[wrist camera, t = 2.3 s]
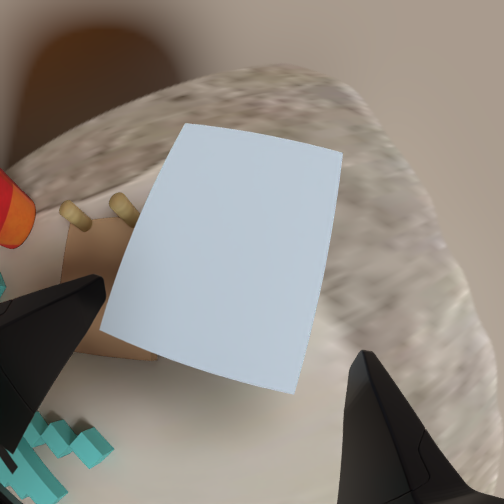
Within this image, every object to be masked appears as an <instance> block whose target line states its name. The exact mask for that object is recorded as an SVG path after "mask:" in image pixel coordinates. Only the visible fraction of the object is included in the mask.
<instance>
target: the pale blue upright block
mask: <svg viewBox="0 0 504 504" xmlns="http://www.w3.org/2000/svg"><path fill="white" fill-rule="evenodd" d="M342 156H343V153H341V152H338V151H334V150H330V149H326V148H322V147H318V146H314V145H310V144H306V143H302V142H297V141H293V140H288V139H283V138H279V137H274V136H269V135H263V134H258V133H252V132H246V131H240V130H234V129H227V128H220V127H213V126H205V125H197V124H187V123H185V125H184V127H183V128H182V130H181V132H180V134H179V136H178V138H177V139H176V141H175V143H174V145H173V147H172V149H171V151H170V153H169V155H168V157H167V159H166V160H165V162H164V164H163V166H162V168H161V170H160V173H159V175H158V177H157V179H156V181H155V183H154V185H153V187H152V189H151V191H150V194H149V196H148V198H147V200H146V202H145V205H144V207H143V209H142V212H141V214H140V216H139V219H138V221H137V223H136V226H135V228H134V231H133V233H132V236H131V238H130V241H129V243H128V246H127V248H126V251H125V253H124V256H123V259H122V262H121V264H120V267H119V270H118V273H117V275H116V278H115V281H114V284H113V287H112V290H111V293H110V296H109V299H108V303H107V306H106V309H105V312H104V316H103V319H102V322H101V326H100V329H99V330H101V331H103V332H105V333H107V334H110V335H112V336H114V337H116V338H118V339H121V340H123V341H125V342H128V343H130V344H132V345H135V346H137V347H140V348H142V349H145V350H147V351H150V352H152V353H155V354H157V355H160V356H163V357H165V358H168V359H171V360H173V361H176V362H179V363H182V364H185V365H188V366H191V367H194V368H197V369H200V370H203V371H206V372H209V373H212V374H216V375H219V376H222V377H226V378H229V379H233V380H236V381H240V382H243V383H247V384H251V385H255V386H259V387H263V388H267V389H271V390H276V391H280V392H285V393H289V394H294V392H295V389H296V386H297V382H298V378H299V375H300V371H301V368H302V364H303V360H304V356H305V353H306V349H307V345H308V341H309V337H310V333H311V329H312V325H313V320H314V316H315V312H316V307H317V303H318V299H319V294H320V289H321V285H322V280H323V275H324V270H325V265H326V260H327V254H328V249H329V244H330V238H331V232H332V226H333V220H334V214H335V208H336V201H337V194H338V187H339V180H340V172H341V164H342Z"/></svg>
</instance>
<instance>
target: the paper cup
mask: <svg viewBox="0 0 504 504" xmlns="http://www.w3.org/2000/svg"><path fill="white" fill-rule="evenodd" d="M35 215H36V209H35V204H34V202H33V201H32V200H31V199H30V198H29V197H28V196H27V195H26V194H25V193H24V192H23V191H22V190H21V189H20V188H19V187H18V186H17V185H16V184H15V183H14V182H13V181H12V180H11V179H10V177H9V176H8V175H7V174H6V173H5V172H4V171H3V170H2V169H1V168H0V245H1V246H4V247H6V248H9V249H15V248H17V247H19V246H20V245H21V244H22V243H23V242H24V241H25V240H26V238H27V237H28V235H29V233H30V231H31V229H32V227H33V224H34V220H35Z"/></svg>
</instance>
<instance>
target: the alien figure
mask: <svg viewBox="0 0 504 504" xmlns="http://www.w3.org/2000/svg"><path fill="white" fill-rule="evenodd" d="M5 289H6V285H5V283H4V280H3V278H2V275H1V273H0V297H1V295H2V294H3V292H4V290H5ZM24 437H25V438H24ZM26 440H27V441H26ZM45 443H46V444H47V446H48V447H49V448H50V449H51V451H52V452H53V453H54V454H55V456H56V457H57V458H60V457H63V456H65V455H67V454H70V453H71V452H72V451H73V452H74V453H75V454H76V455H77V456H78V457H79V459H80V460H81V461H82V462H83V463H84V464H85V465H86V466H87V467H88V468H89V469H90V468H92V467H94V466H95V465H97V464H99V463H100V462H101V461H102V460H104V459H105V458H106V457H107V456H108V455H109V454H110V453H111V452H112V451H113V450H114V448H113V447H112V446H111V445H110V444H109V443H108V442H107V441H106V440H105V439H104V437H103V436H102V435H101V434H100V433H99V432H98V431H97V430H96V429H95V427H93V428H91V429H88V430H85V431H83V432H81V433H80V434H79V435H78V437H77V435H76V434H75V433H74V432H73V431H72V429H71V428H70V427H69V426H68V424H67V423H66V422H65V420H60V421H56V422H52V423H50V424H49V426H48V425H47V423H46V422H45V420H44V419H43V418H42V416H41V415H40V413H39V412H36V413H35V414H34V417H33V418H32V420H31V422H30V424H29V426H28V427H27V429H26V431H25V433H24V435H23V437H22V439H21V441H20V443H19V444H18V446H17V448H16V450H15V452H14V454H11V453H10V452H9V451H8V450H6V449H5V448H4V447H3V446H2V445H1V444H0V483H1V484H2V485H3V486H4V487H8V486H11V487H12V488H13V489H14V491H15V492H16V493H17V495H18V496H19V497H20V498H21V499H24V498H26V497H29V496H30V498H31V499H32V500H33V501H34V502H35V503H36V504H56V503H57V502H58V501H59V500H60V499H61V498H62V497H64V496H65V495H66V494H67V493H68V491H67V490H66V489H65V488H64V487H63V486H62V485H61V483H60V482H59V481H58V480H57V479H56V478H55V477H54V475H53V474H52V473H51V472H50V471H49V469H48V468H47V467H46V466H45V465H44V463H43V462H42V461H41V459H40V458H39V457H38V456H37V454H36V453H35V452H34V450H33V449H32V448H33V447H36V446H39V445H43V444H45ZM31 447H32V448H31Z"/></svg>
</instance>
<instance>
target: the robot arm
mask: <svg viewBox="0 0 504 504" xmlns="http://www.w3.org/2000/svg"><path fill="white" fill-rule="evenodd" d="M105 300H106V289H105V283H104V279H103V277H102V276H99V275H97V274H90V275H87V276H84V277H80V278H77V279H74V280H71V281H68V282H64V283H61V284H58V285H55V286H52V287H49V288H45V289H42V290H39V291H36V292H33V293H30V294H27V295H24V296H21V297H18V298H15V299H13V300H9V301H6V302H3V303H0V444H1V445H2V446H3V447H4V448H5V449H6V450H8V451H9V452H10V453H11V454H14V452H15V450H16V448H17V446H18V444H19V443H20V441H21V439H22V437H23V435H24V433H25V431H26V429H27V427H28V426H29V424H30V422H31V420H32V418H33V417H34V414H35V413H36V411H37V409H38V408H39V406H40V404H41V403H42V401H43V399H44V397H45V396H46V394H47V392H48V391H49V389H50V388H51V386H52V384H53V383H54V381H55V380H56V378H57V376H58V375H59V373H60V372H61V370H62V369H63V367H64V366H65V364H66V363H67V361H68V360H69V358H70V357H71V355H72V354H73V352H74V351H75V349H76V348H77V346H78V345H79V343H80V342H81V340H82V339H83V338H84V336H85V335H86V333H87V331H88V330H89V328H90V326H91V325H92V323H93V321H94V319H95V318H96V316H97V314H98V312H99V311H100V309H101V307H102V306H103V304H104V302H105ZM0 504H23V503H22V502H20V501H19V500H18V499H17V498H16V497H15V496H14V495H13V494H12V493H11V492H9V491H8V490H7V489H6V488H5V487H4V486H3V485H2V484H1V483H0ZM337 504H504V499H503V498H499V497H495V496H491V495H487V494H484V493H480V492H477V491H475V490H473V489H472V488H470V487H469V486H468V485H467V484H466V483H465V482H464V480H463V479H462V478H461V477H460V475H459V474H458V473H457V471H456V470H455V469H454V468H453V466H452V465H451V464H450V462H449V461H448V460H447V459H446V457H445V456H444V455H443V453H442V452H441V451H440V449H439V448H438V446H437V445H436V443H435V442H434V440H433V439H432V437H431V436H430V434H429V433H428V431H427V430H426V429H425V427H424V425H423V424H422V422H421V421H420V419H419V418H418V416H417V415H416V413H415V412H414V410H413V409H412V407H411V406H410V404H409V403H408V401H407V400H406V398H405V397H404V395H403V394H402V392H401V391H400V389H399V388H398V387H397V385H396V384H395V382H394V381H393V379H392V378H391V376H390V375H389V374H388V372H387V371H386V369H385V368H384V366H383V365H382V364H381V362H380V361H379V359H378V358H377V357H376V355H375V354H374V353H373V352H372V351H367V350H361V351H360V352H359V353H358V355H357V357H356V358H355V360H354V362H353V363H352V365H351V367H350V370H349V376H348V385H347V392H346V400H345V407H344V420H343V443H342V458H341V471H340V482H339V491H338V500H337Z"/></svg>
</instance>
